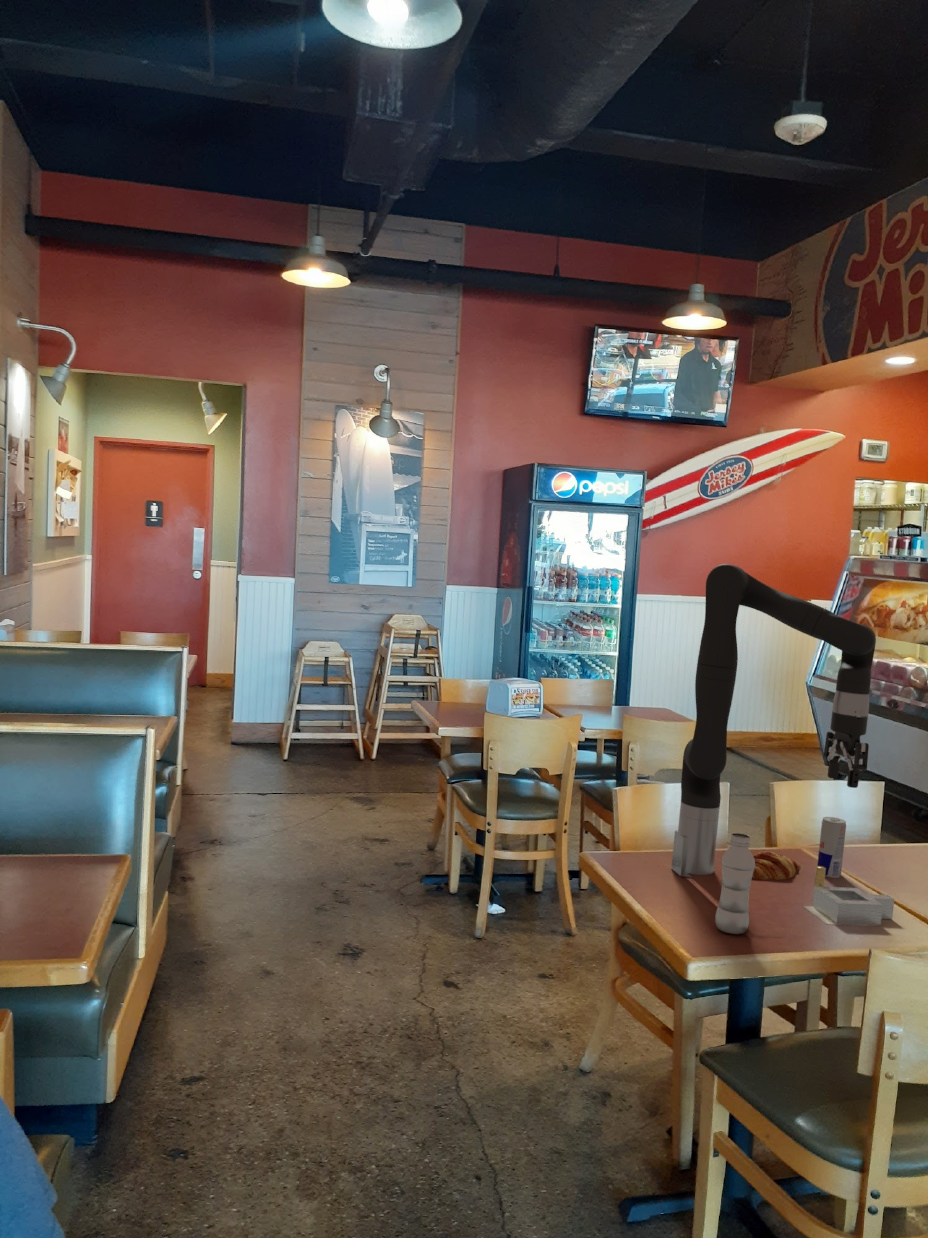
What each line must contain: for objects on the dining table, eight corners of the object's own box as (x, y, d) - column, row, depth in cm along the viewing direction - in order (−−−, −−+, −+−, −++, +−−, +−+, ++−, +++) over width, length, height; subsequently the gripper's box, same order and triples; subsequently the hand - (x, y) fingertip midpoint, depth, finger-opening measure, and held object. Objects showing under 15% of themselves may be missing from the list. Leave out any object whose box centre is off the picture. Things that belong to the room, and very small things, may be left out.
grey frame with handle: (836, 924, 196) (838, 903, 195) (812, 906, 205) (814, 886, 205) (902, 926, 198) (904, 905, 197) (875, 908, 207) (878, 888, 207)
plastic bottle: (709, 925, 193) (718, 830, 192) (740, 926, 193) (750, 832, 192) (720, 937, 186) (730, 839, 185) (753, 939, 187) (763, 841, 186)
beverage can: (836, 876, 233) (842, 817, 233) (843, 883, 228) (849, 823, 227) (813, 873, 234) (819, 815, 233) (819, 881, 228) (826, 821, 228)
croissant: (787, 882, 236) (777, 851, 239) (820, 875, 229) (809, 843, 232) (732, 892, 224) (723, 858, 227) (765, 885, 217) (755, 850, 220)
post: (815, 904, 208) (819, 868, 207) (811, 900, 210) (814, 865, 209) (823, 904, 208) (827, 869, 207) (819, 901, 210) (822, 866, 209)
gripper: (818, 705, 217) (811, 774, 218) (851, 716, 203) (843, 789, 204) (848, 708, 218) (841, 776, 219) (883, 718, 204) (875, 791, 205)
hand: (842, 782), depth 211 cm, fingers open, 8 cm apart
